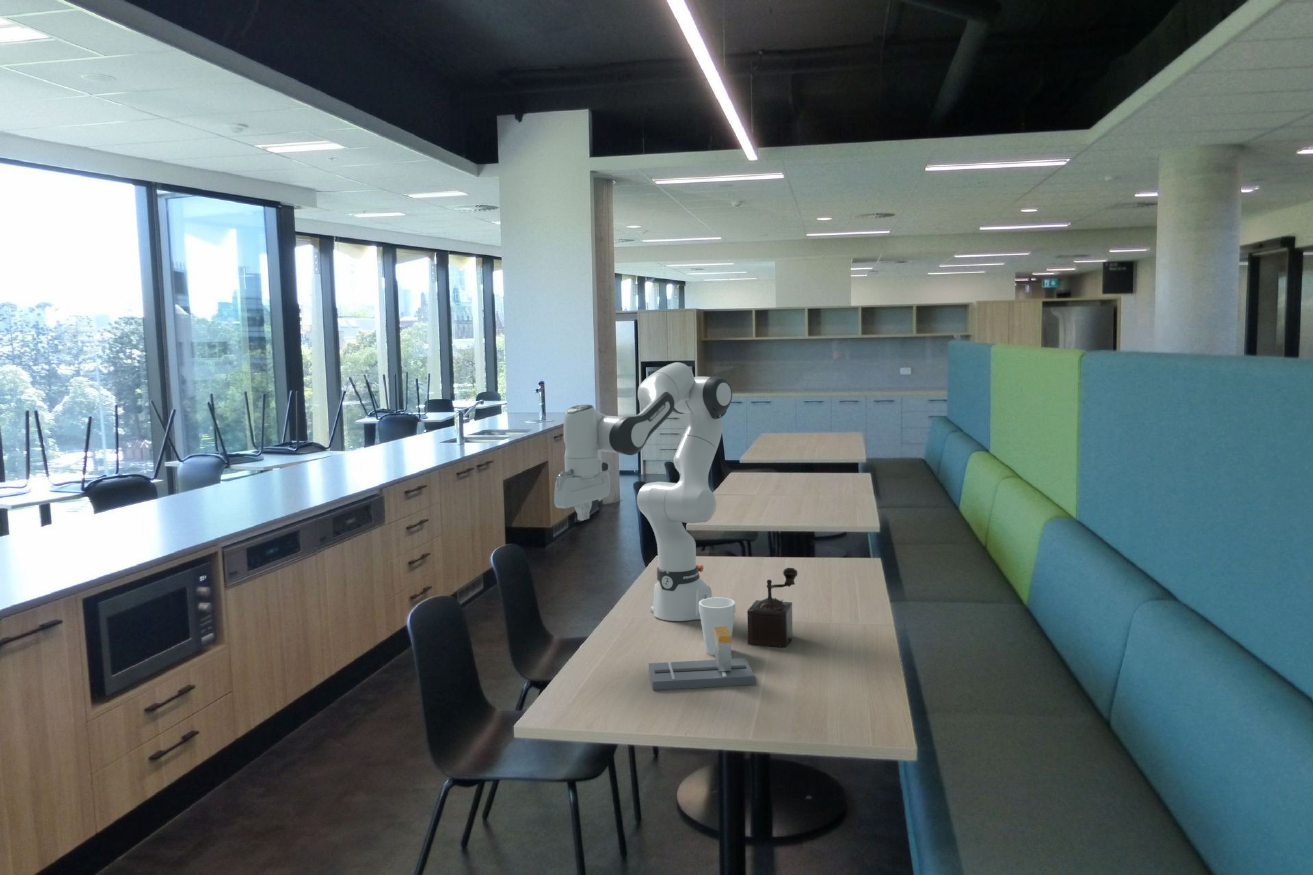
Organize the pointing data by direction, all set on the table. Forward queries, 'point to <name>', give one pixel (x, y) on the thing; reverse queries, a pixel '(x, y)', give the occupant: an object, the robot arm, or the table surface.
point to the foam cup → (715, 618)
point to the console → (699, 674)
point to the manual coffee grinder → (772, 617)
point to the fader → (722, 648)
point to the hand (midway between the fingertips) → (583, 519)
